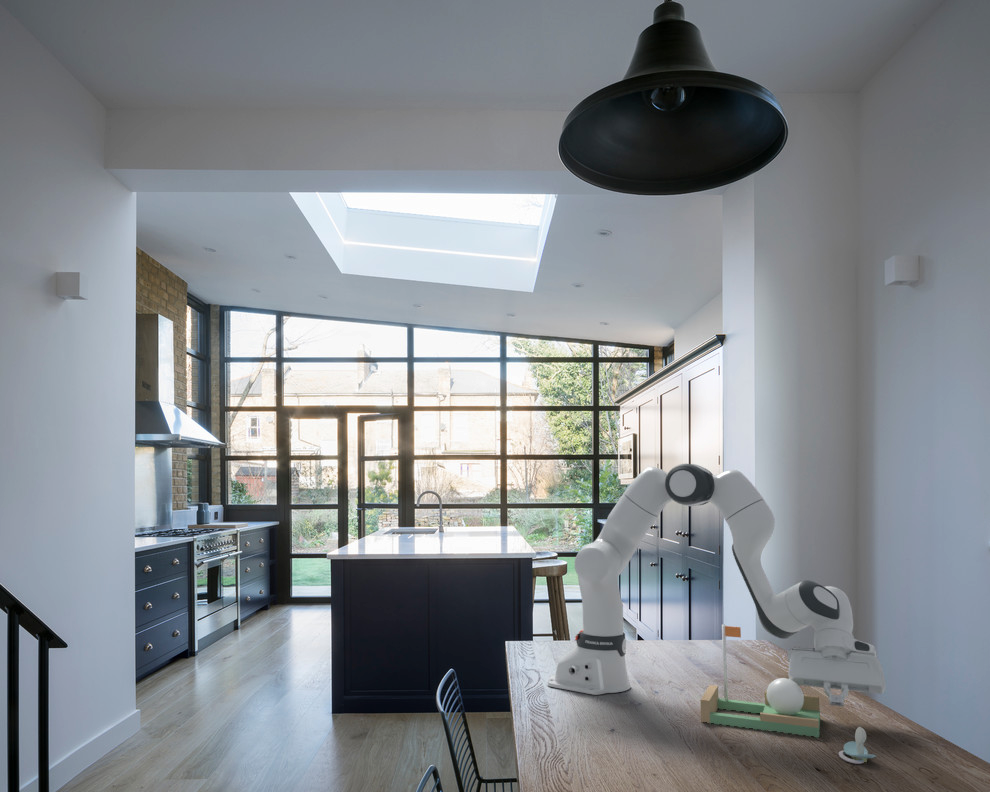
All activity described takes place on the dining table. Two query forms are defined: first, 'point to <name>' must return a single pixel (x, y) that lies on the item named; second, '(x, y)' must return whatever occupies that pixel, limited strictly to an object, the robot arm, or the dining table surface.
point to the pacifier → (856, 749)
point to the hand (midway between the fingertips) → (836, 704)
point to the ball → (785, 696)
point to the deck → (757, 707)
